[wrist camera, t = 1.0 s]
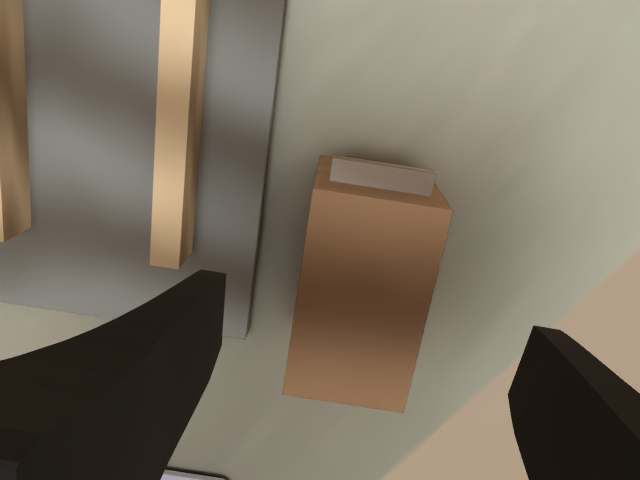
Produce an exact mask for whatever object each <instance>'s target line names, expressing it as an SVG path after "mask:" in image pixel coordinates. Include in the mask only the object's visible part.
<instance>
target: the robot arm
mask: <svg viewBox="0 0 640 480" xmlns="http://www.w3.org/2000/svg"><path fill="white" fill-rule="evenodd" d="M226 276H227V274H226V273H221V272H215V271H209V270H203V269H201V270H199V271H197V272H195V273H194V274H192V275H191V276H189V277H187V278H186V279H184V280H182V281H181V282H179V283H178V284H176V285H174V286H173V287H171V288H170V289H168V290H166V291H165V292H163V293H161V294H160V295H158V296H156V297H154V298H153V299H151V300H149V301H148V302H146V303H144V304H142V305H140V306H138V307H137V308H135V309H133V310H131V311H129V312H127V313H125V314H123V315H121V316H119V317H118V318H116V319H114V320H112V321H110V322H108V323H105V324H103V325H101V326H99V327H97V328H94V329H92V330H90V331H87V332H85V333H82V334H80V335H78V336H75V337H73V338H70V339H68V340H65V341H62V342H59V343H56V344H53V345H50V346H47V347H44V348H41V349H38V350H35V351H32V352H29V353H26V354H23V355H20V356H16V357H13V358H9V359H5V360H1V361H0V480H225V479H222V478H217V477H210V476H204V475H197V474H190V473H184V472H177V471H171V470H165V469H166V467H167V464H168V462H169V460H170V458H171V456H172V454H173V452H174V450H175V448H176V446H177V444H178V442H179V440H180V438H181V436H182V434H183V432H184V430H185V428H186V426H187V424H188V422H189V420H190V418H191V416H192V414H193V412H194V410H195V408H196V406H197V404H198V402H199V400H200V398H201V396H202V394H203V392H204V390H205V388H206V386H207V384H208V382H209V380H210V377H211V374H212V372H213V369H214V366H215V363H216V360H217V357H218V354H219V351H220V348H221V345H222V333H223V319H224V304H225V290H226ZM508 398H509V405H510V412H511V418H512V423H513V428H514V434H515V437H516V441H517V444H518V447H519V450H520V453H521V457H522V460H523V463H524V466H525V469H526V472H527V475H528V478H529V480H640V393H638V392H637V391H636V390H635V389H633V388H632V387H631V386H630V385H628V384H627V383H626V382H624V381H623V380H622V379H621V378H619V376H617V375H616V374H615V373H614V372H613V371H611V370H610V369H609V368H608V367H607V366H605V365H604V364H603V363H602V362H601V361H599V360H598V359H597V358H596V357H594V356H593V355H592V354H591V353H590V352H589V351H587V350H586V349H585V348H584V347H582V346H581V345H580V344H579V343H577V342H576V341H575V340H573V339H572V338H571V337H570V336H568V335H567V334H565V333H564V332H562V331H561V330H556V329H551V328H545V327H539V326H533V328H532V331H531V334H530V337H529V339H528V342H527V345H526V347H525V350H524V353H523V355H522V358H521V361H520V363H519V366H518V369H517V371H516V374H515V377H514V379H513V382H512V385H511V387H510V390H509V393H508Z"/></svg>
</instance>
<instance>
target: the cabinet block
mask: <svg viewBox="0 0 640 480" xmlns="http://www.w3.org/2000/svg"><path fill="white" fill-rule="evenodd" d="M435 177H436V174H435V172H434V171H433V170H429V169H422V168H416V167H409V166H403V165H397V164H390V163H384V162H378V161H371V160H365V159H359V158H352V157H346V156H339V155H333V157H327V156H320V160H319V164H318V169H317V173H316V177H315V181H314V186H313V191H312V197H311V204H310V211H309V218H308V224H307V231H306V238H305V245H304V251H303V258H302V265H301V271H300V278H299V285H298V292H297V298H296V305H295V312H294V319H293V325H292V332H291V339H290V346H289V352H288V359H287V366H286V372H285V379H284V386H283V393H282V395H288V396H295V397H302V398H308V399H315V400H321V401H328V402H334V403H341V404H347V405H354V406H360V407H367V408H373V409H380V410H386V411H393V412H399V413H404V409H405V405H406V401H407V397H408V393H409V389H410V385H411V381H412V377H413V373H414V369H415V364H416V360H417V356H418V352H419V348H420V344H421V340H422V336H423V332H424V328H425V324H426V320H427V316H428V311H429V307H430V303H431V299H432V295H433V291H434V287H435V283H436V279H437V275H438V271H439V267H440V262H441V258H442V254H443V250H444V246H445V242H446V238H447V234H448V230H449V226H450V222H451V218H452V213H453V209H452V208H451V206H450V205H449V204H448V202H447V201H446V199H445V198H444V196H443V195H442V194H441V192H440V191H439V189H438V188H437V187H436V185H435V184H434V181H435Z"/></svg>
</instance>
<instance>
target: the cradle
mask: <svg viewBox="0 0 640 480" xmlns="http://www.w3.org/2000/svg"><path fill="white" fill-rule="evenodd" d="M286 5H287V0H0V302H3V303H10V304H16V305H23V306H29V307H36V308H42V309H49V310H55V311H62V312H68V313H75V314H81V315H88V316H94V317H101V318H107V319H116V318H118V317H119V316H121V315H123V314H125V313H127V312H129V311H131V310H133V309H135V308H137V307H138V306H140V305H142V304H144V303H146V302H148V301H149V300H151V299H153V298H154V297H156V296H158V295H160V294H161V293H163V292H165V291H166V290H168V289H170V288H171V287H173V286H174V285H176V284H178V283H179V282H181V281H182V280H184V279H186V278H187V277H189V276H191V275H192V274H194V273H195V272H197V271H199V270H201V269H203V270H209V271H215V272H221V273H226V274H227V276H226V290H225V304H224V319H223V333H222V336H224V337H231V338H237V339H244V340H245V339H246V337H247V334H248V330H249V321H250V313H251V304H252V295H253V287H254V278H255V270H256V261H257V253H258V244H259V236H260V227H261V218H262V210H263V201H264V193H265V184H266V176H267V167H268V159H269V150H270V141H271V133H272V124H273V116H274V107H275V99H276V90H277V82H278V73H279V64H280V56H281V47H282V39H283V30H284V22H285V13H286Z"/></svg>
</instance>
